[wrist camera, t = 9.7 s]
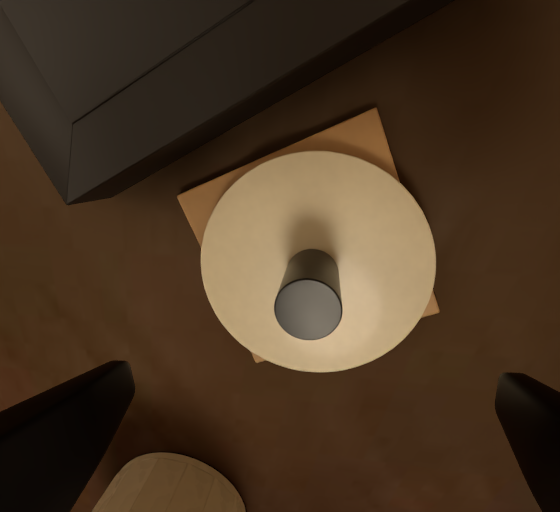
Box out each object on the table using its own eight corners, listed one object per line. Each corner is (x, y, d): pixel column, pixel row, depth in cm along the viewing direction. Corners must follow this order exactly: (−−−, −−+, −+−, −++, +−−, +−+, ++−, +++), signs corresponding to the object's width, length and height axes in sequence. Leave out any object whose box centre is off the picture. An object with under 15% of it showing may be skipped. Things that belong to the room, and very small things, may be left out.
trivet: (436, 307, 16) (440, 312, 15) (258, 357, 18) (255, 363, 18) (374, 108, 14) (376, 106, 13) (180, 194, 16) (175, 195, 15)
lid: (479, 221, 14) (554, 251, 9) (353, 392, 17) (363, 475, 13) (262, 106, 14) (230, 80, 9) (178, 302, 17) (125, 354, 13)
